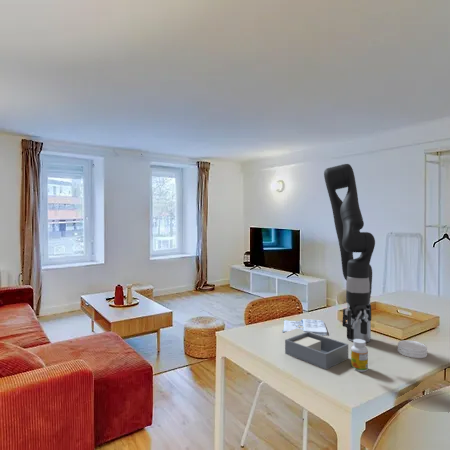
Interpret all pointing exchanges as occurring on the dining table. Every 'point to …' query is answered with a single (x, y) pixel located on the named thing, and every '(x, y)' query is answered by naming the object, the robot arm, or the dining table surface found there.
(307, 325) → the folded white cloth
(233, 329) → the dining table surface
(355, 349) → the supplement bottle
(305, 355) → the crate
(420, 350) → the white round bowl
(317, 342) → the beige rectangular block
